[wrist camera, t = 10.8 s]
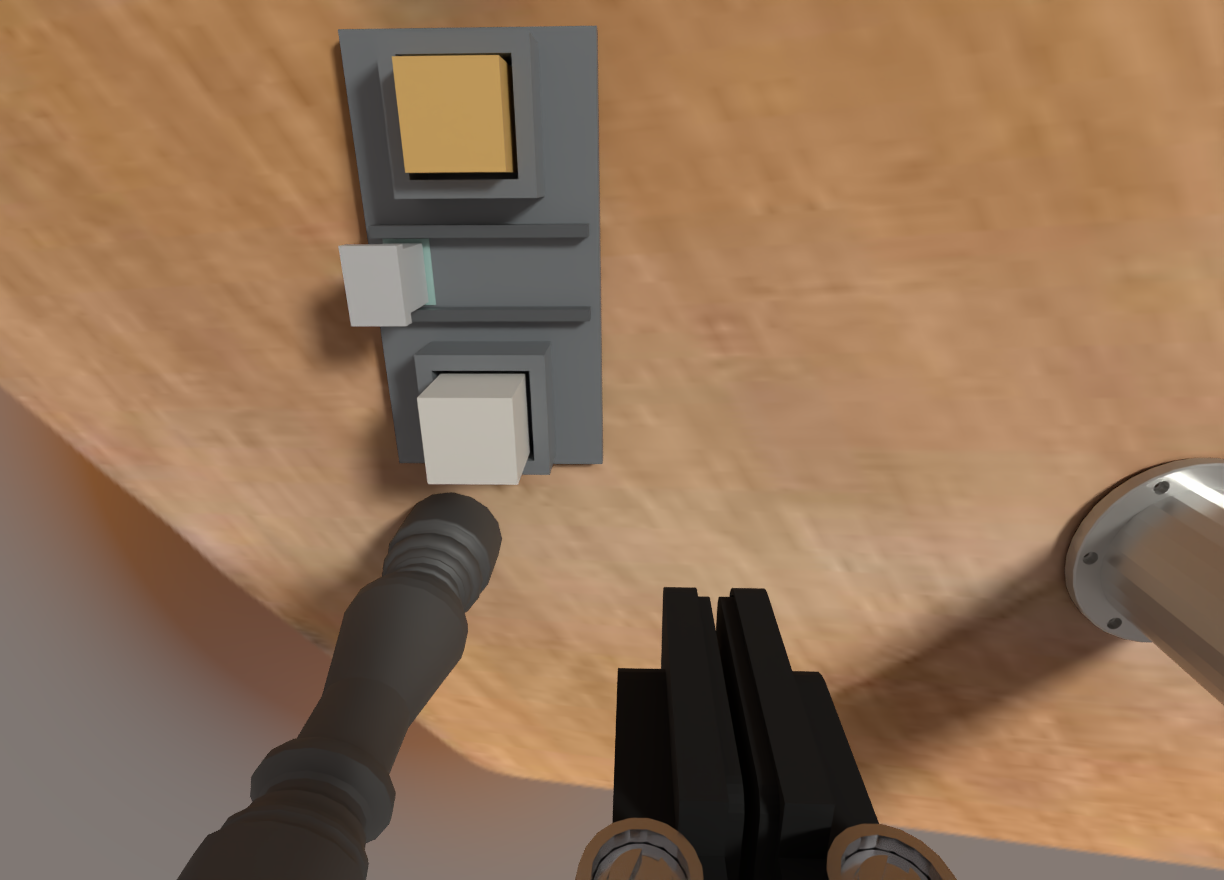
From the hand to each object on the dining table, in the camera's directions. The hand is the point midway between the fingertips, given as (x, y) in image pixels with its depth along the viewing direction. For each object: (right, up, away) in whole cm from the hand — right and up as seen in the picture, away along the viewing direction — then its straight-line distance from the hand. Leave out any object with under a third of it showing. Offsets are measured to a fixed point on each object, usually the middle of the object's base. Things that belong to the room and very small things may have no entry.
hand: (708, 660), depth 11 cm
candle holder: (-12, -2, +31) cm, 33 cm away
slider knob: (-12, +12, +23) cm, 29 cm away
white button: (-8, +5, +23) cm, 25 cm away
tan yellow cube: (-8, +19, +20) cm, 29 cm away
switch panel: (-8, +13, +24) cm, 28 cm away
